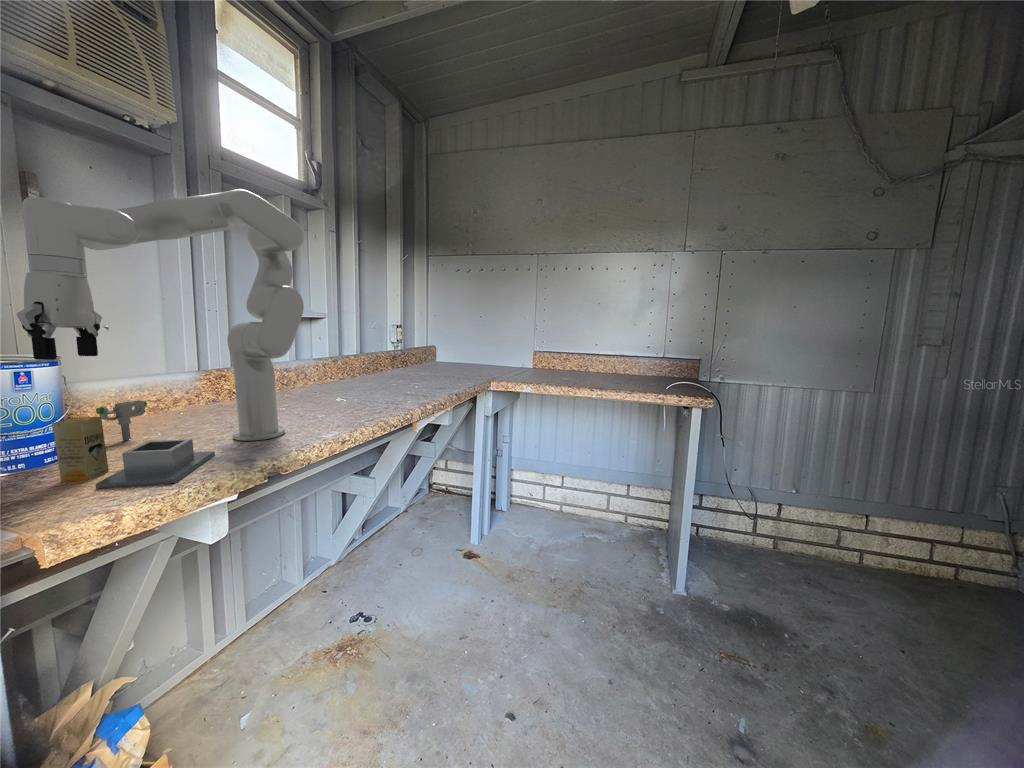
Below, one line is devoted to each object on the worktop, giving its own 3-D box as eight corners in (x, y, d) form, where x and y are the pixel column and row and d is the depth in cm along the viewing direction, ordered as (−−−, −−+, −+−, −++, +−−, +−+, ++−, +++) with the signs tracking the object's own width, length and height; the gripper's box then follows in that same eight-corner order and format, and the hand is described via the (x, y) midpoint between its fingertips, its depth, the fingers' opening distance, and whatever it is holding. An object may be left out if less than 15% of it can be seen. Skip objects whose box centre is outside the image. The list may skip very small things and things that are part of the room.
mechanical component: (99, 444, 107) (93, 406, 105) (145, 434, 116) (141, 399, 115) (106, 446, 106) (101, 407, 104) (152, 435, 115) (148, 400, 114)
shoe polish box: (108, 471, 89) (101, 416, 87) (89, 480, 84) (81, 422, 82) (82, 472, 88) (73, 417, 86) (61, 481, 83) (51, 423, 82)
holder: (151, 458, 97) (148, 435, 97) (214, 455, 100) (212, 433, 100) (96, 489, 80) (92, 461, 79) (174, 483, 83) (171, 457, 82)
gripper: (73, 273, 88) (81, 354, 90) (-13, 259, 71) (0, 360, 73) (115, 274, 89) (122, 355, 91) (40, 262, 72) (51, 361, 74)
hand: (68, 357), depth 82 cm, fingers open, 9 cm apart
